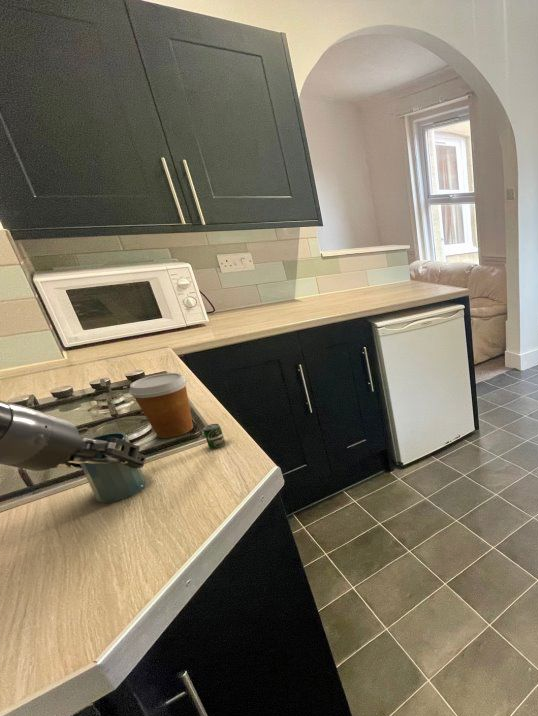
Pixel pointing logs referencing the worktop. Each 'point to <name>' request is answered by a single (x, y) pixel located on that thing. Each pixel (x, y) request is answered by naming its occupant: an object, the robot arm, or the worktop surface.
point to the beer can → (214, 436)
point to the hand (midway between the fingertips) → (120, 463)
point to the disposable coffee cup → (164, 403)
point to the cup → (113, 476)
